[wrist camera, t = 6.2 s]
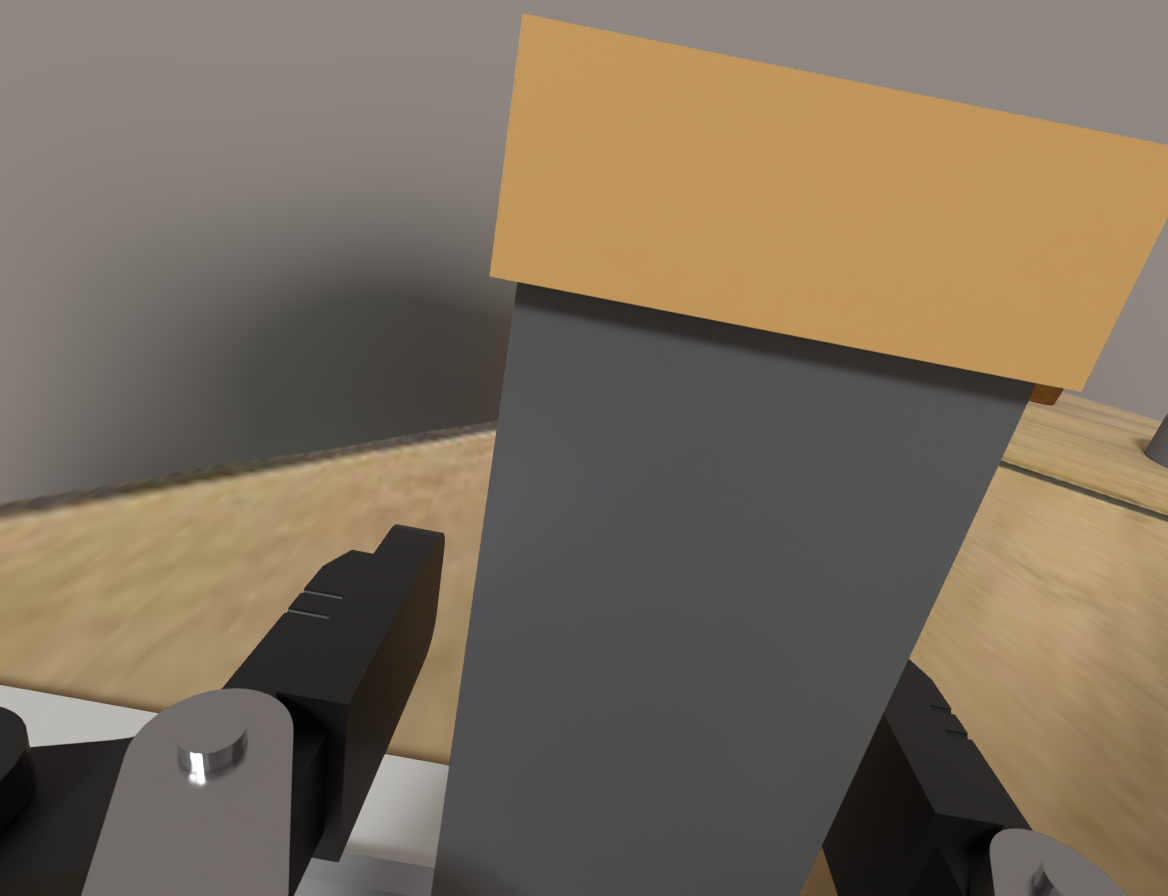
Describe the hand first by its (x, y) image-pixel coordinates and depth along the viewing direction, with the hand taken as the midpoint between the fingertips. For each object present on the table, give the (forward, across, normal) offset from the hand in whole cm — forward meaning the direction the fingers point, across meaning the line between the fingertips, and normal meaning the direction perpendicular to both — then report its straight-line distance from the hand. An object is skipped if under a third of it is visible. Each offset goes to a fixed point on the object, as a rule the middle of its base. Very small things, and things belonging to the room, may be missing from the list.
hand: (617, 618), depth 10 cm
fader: (-2, 0, +7) cm, 8 cm away
